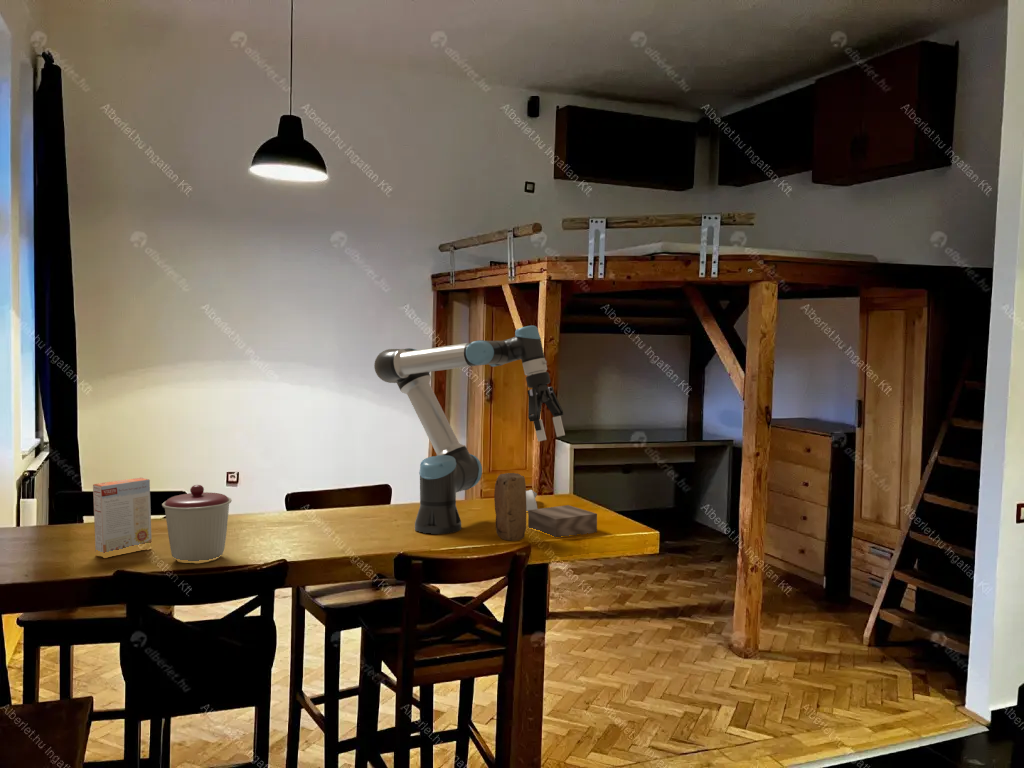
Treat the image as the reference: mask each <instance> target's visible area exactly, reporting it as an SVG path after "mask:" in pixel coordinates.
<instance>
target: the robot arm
mask: <svg viewBox="0 0 1024 768" xmlns="http://www.w3.org/2000/svg"><path fill="white" fill-rule="evenodd" d="M514 331H515V332H514V333H515V334H514V336H513V337H510V338H508V339H503V340H483V339H482V340H481V339H480V340H474V341H471V342H465V343H457V344H452V345H443V346H438V347H431V348H424V349H415V348H389V349H385V350H382V351H381V352H380V353H379V354H378V355H377V356H376V357H375V360H374V364H373V365H374V367H373V369H374V371H375V374H376V376H377V377H378V378H379V379H380V380H382V381H383V382H385V383H388V384H389V383H390V384H396V385H397V386H398V389H399V390H400V393H403V394H406V395H407V397H408V399H409V401H410V403H411V405H412V407H413V409H414V411H415V413H416V415H417V417H418V420H419V422H420V424H421V425H422V428H423V429H424V432H425V434H426V436H427V437H428V439H429V441H430V444H431V446H432V448H433V449H434V452H435V453H436V455H435V456H434V455H433V456H428V457H426V458H424V459H422V461H421V462H420V465H419V472H418V473H419V509H418V511H417V514H416V518H415V521H414V531H415V532H417V531H419V532H418V533H420V532H423V533H422V534H426V533H431V534H430V535H445V534H451V533H456V532H459V531H461V529H462V520H461V517H460V514H459V511H458V508H457V499H456V498H457V496H456V495H457V493H459V492H462V491H467V490H469V489H472V488H473V487H476V485H478V483H480V481H481V478H482V474H483V466H482V464H481V461H480V459H479V458H478V456H475V455H473V454H471V453H470V452H469V450H468V448H467V447H466V445H464V444H462V443H460V442H459V440H458V438H457V436H456V433H454V432H455V431H454V430H453V428H452V426H451V425H450V422H449V420H448V418H447V415H446V414H445V412H444V410H443V407H442V406H441V404H440V402H439V401H438V398H437V396H436V394H435V392H434V389H433V388H432V386H431V384H430V382H431V379H432V376H431V374H430V372H437V371H445V370H452V369H453V370H454V369H460V368H461V369H462V368H467V367H478V366H485V365H489V366H490V367H493V368H494V367H495V368H496V367H498V366H499V367H500V366H503V365H505V364H509V363H512V362H515V361H519V360H521V364H522V367H523V368H522V369H523V371H524V372H523V373H524V375H525V376H526V378H525V381H526V386H527V387H528V388H529V389H528V390H527V397H528V402H527V406H528V408H527V409H528V412H527V413H528V415H527V416H528V419H529V422H533V425H534V430H535V435H536V439H537V442H543V441H547V436H546V432H545V427H544V423H543V419H541V413H542V409H543V408H542V407H543V404H545V406H546V407H547V409H548V411H550V413H551V415H552V416H553V417H552V422H553V426H554V431H555V435H556V437H557V438H558V437H562V436H566V433H565V429H564V425H563V420H562V416H563V415H564V410H563V408H562V406H561V403H560V402H559V401H560V400H559V399H558V397H557V395H556V393H555V389H554V387H553V386H548V385H549V384H550V383H551V379H550V378H551V377H550V373H549V372H548V371H547V370H548V365H547V360H546V357H545V353H544V349H543V343H542V337H541V336H540V332H539V329H538V326H536V325H527V326H523V327H519V328H517V329H515V330H514Z"/></svg>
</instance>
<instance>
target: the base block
mask: <svg viewBox="0 0 1024 768" xmlns="http://www.w3.org/2000/svg"><path fill="white" fill-rule="evenodd" d="M527 513H528V514H527V519H528V521H527V522H528V524H527V528H528V527H529V528H533V529H536V530H540V531H542V532H544V533H547V534H550V535H552V536H554V537H561V536H568V537H570V536H569V535H575V536H578V535H577V534H581V535H587V533H588V534H594V532H595V533H597V532H598V513H595V512H594V511H593V512H592V511H591V510H590V511H589V510H585V509H582V508H579V507H576V506H572V505H569V504H567V505H560V506H559V505H558V506H551V507H544V508H537V509H534V510H528V512H527ZM529 528H528V529H529ZM554 537H553V538H554ZM561 538H562V537H561Z"/></svg>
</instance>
